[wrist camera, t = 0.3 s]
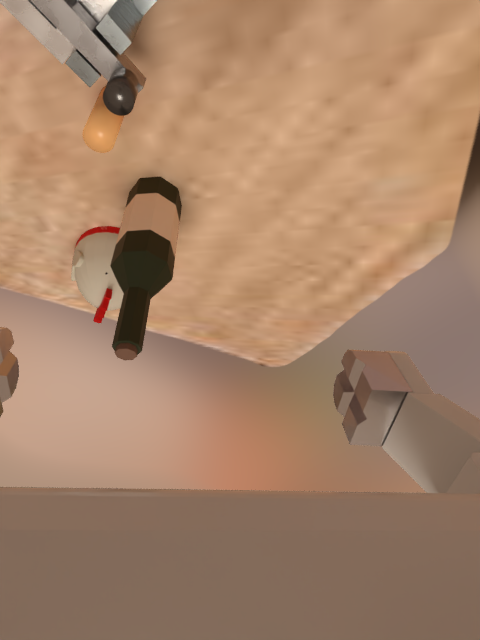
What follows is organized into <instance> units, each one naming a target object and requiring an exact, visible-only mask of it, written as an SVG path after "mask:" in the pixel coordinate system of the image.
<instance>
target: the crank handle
mask: <svg viewBox="0 0 480 640" xmlns="http://www.w3.org/2000/svg"><path fill="white" fill-rule="evenodd" d="M31 1H32V3H33V4H34V5H35V6H36V7H37V8H38V9H39V10H40V11H41V12H42V13H43V14H44V15H45V16H46V17H47V18H48V19H49V20H50V21H51V22H52V23H53V24H54V25H55V26H56V27H57V28H58V30H59V31H60V32H61V33H62V34H63V35H64V36H65V37H66V38H67V39H68V40H69V41H70V42H71V43H72V44H73V45H74V46H75V47H76V48H77V49H78V50H79V51H80V52H81V53H82V54H83V56H84V57H85V58H86V59H87V60H88V61H89V62H90V63H91V64H92V65H93V66H94V67H95V68H96V69H97V70H98V71H99V72H100V73H101V74H102V75H103V76H104V77H105V78H106V79H107V80H108V83H107V85H106V88H105V90H104V92H103V101H104V104H105V106H106V107H107V109H108V110H109V111H110V112H112V113H114V114H116V115H119V116H124V115H127V114H129V113H130V112H131V111H132V109H133V106H134V103H135V100H136V97H137V94H138V93H139V92H140V91H141V90H142V89H143V87H144V84H145V81H146V78H145V77H144V75H143V74H142V73H141V72H140V71H139V70H138V69H137V68H136V66H135V65H134V64H133V63H132V62H131V61H130V60H129V59H128V57H127V56H126V55H125V54H124V53H122V54H121V55H120V54H119V53H118V52H117V51H116V50H115V49H114V48H113V47H112V46H111V44H110V43H109V42H108V41H107V40H106V39H105V38H104V37H103V36H102V34H101V33H100V32H99V31H98V30H97V29H96V26H97V25H98V24H97V23H96V21H95V20H94V19H93V18H92V17H91V16H90V15H89V14H88V12H87V11H86V10H85V9H84V8H83V7H82V6H81V5H80V4H79V2H78V1H77V0H31Z"/></svg>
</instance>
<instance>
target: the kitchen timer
mask: <svg viewBox="0 0 480 640" xmlns="http://www.w3.org/2000/svg"><path fill="white" fill-rule="evenodd" d="M119 231H120V228H117V227H111V226H105V227H96V228H93V229H90V230H88V231H87V232H85V233H84V234H82V235H81V237H80V238H79V240H78V242H77V244H76V247H75V251H74V256H73V261H72V273H71V280H72V281H76V282H77V286H78V288H79V290H80V292H81V294H82V295H83V296H84V298H85V299H86V300H87V301H88V302H89V303H90V304H91V305H93V306H94V307H96V308H97V311H96V314H95V317H94V322H97V323H101V321H102V318H104V315H105V311H107V310H116V309H120V308H121V304H122V299H123V295H124V293H123V291H122V290H121V288H120V286H119V284H118V282H117V280H116V278H115V276H114V273H113V271H112V269H111V266H110V265H111V261H112V257H113V253H114V250H115V246H116V242H117V238H118V234H119Z"/></svg>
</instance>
